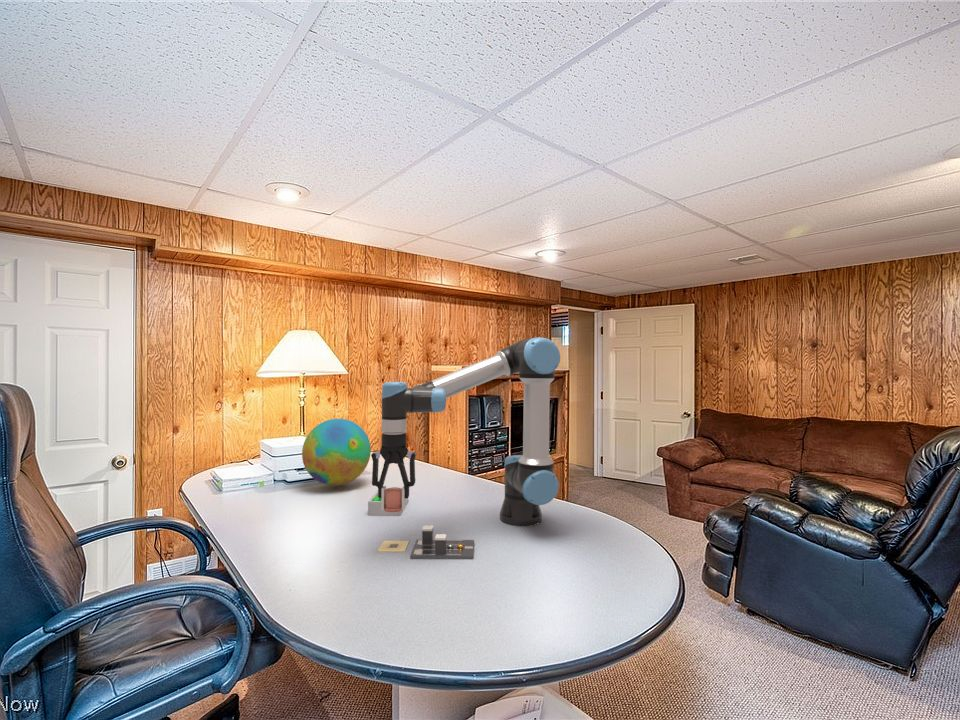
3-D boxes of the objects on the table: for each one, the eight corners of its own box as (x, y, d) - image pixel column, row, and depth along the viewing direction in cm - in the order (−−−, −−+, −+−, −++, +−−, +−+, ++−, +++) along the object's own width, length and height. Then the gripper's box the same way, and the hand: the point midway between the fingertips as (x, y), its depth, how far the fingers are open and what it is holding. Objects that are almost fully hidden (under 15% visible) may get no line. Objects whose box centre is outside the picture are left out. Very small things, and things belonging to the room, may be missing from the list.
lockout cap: (404, 506, 145) (404, 487, 145) (401, 512, 140) (401, 492, 140) (386, 506, 145) (386, 486, 145) (382, 512, 140) (382, 491, 140)
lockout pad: (409, 542, 146) (409, 540, 146) (404, 553, 138) (404, 551, 138) (383, 542, 147) (383, 540, 147) (377, 553, 139) (377, 550, 139)
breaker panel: (474, 544, 145) (474, 537, 145) (473, 561, 133) (473, 553, 133) (416, 544, 145) (416, 536, 145) (410, 560, 133) (410, 552, 133)
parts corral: (408, 500, 190) (408, 488, 190) (400, 515, 172) (400, 502, 172) (379, 500, 190) (379, 488, 190) (367, 515, 172) (367, 501, 172)
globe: (288, 491, 202) (288, 422, 202) (322, 474, 231) (322, 414, 231) (353, 495, 197) (353, 424, 197) (380, 477, 226) (380, 415, 226)
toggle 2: (446, 549, 137) (446, 534, 137) (445, 554, 134) (445, 538, 134) (436, 549, 137) (436, 534, 137) (435, 554, 134) (435, 538, 134)
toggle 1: (433, 540, 144) (433, 525, 144) (432, 544, 141) (432, 529, 141) (423, 540, 144) (423, 525, 144) (422, 544, 141) (422, 529, 141)
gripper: (426, 430, 146) (425, 505, 146) (367, 430, 146) (366, 504, 146) (422, 434, 139) (422, 513, 139) (360, 434, 139) (360, 512, 139)
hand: (393, 508), depth 142 cm, fingers closed on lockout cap, 5 cm apart
